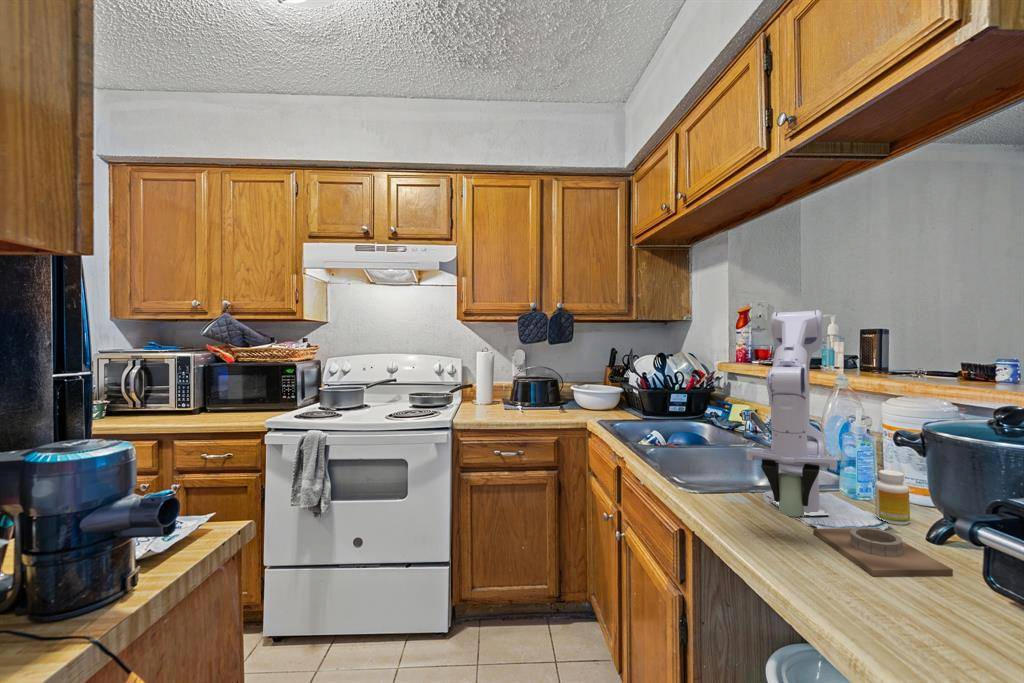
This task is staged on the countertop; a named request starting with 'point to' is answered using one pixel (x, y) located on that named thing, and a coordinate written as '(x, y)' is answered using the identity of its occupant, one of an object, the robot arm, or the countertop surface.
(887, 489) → the supplement bottle
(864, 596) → the countertop surface
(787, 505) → the peg
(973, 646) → the countertop surface
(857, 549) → the holder
